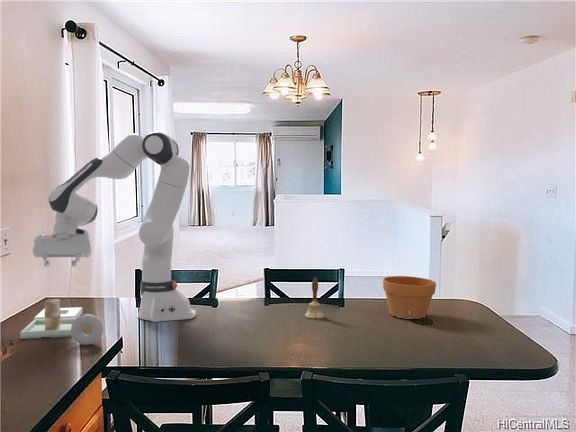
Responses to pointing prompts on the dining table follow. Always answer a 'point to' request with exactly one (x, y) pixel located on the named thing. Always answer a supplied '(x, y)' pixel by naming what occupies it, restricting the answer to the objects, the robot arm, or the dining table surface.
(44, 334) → the tray
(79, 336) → the donut
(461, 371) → the dining table surface
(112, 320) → the dining table surface
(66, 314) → the pocket plate
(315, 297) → the hand bell
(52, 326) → the maple block
